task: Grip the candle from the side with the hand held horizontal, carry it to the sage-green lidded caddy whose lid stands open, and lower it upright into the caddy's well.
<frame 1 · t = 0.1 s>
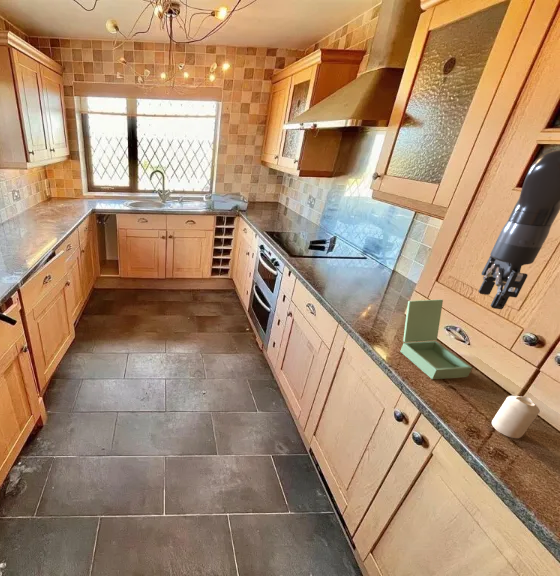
hand: (489, 300, 80), 27 cm above the countertop, tool pointing down, fingers open, 8 cm apart
caddy lid: (418, 319, 103), point 10 cm above the countertop, hinge at 105.0°
candle: (505, 429, 77), on the countertop
caddy: (431, 363, 99), on the countertop
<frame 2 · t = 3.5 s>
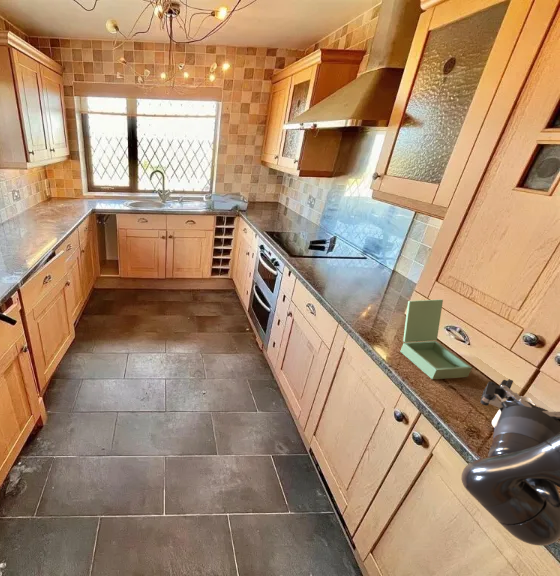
hand: (537, 394, 63), 18 cm above the countertop, tool horizontal, fingers open, 8 cm apart
nothing on the countertop moved.
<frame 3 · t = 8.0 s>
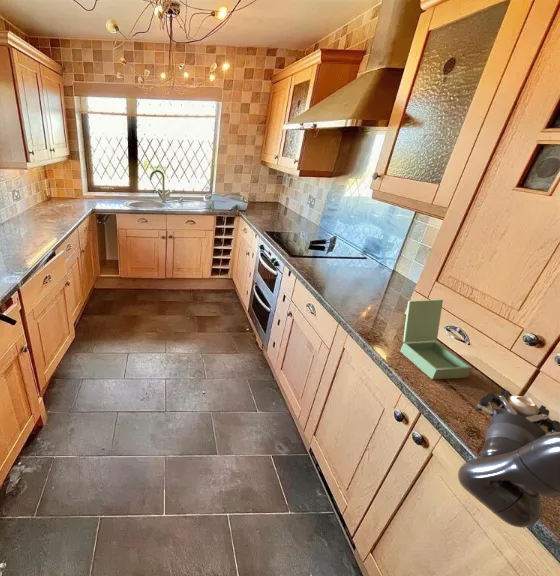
hand: (523, 400, 75), 8 cm above the countertop, tool horizontal, fingers closed on candle, 5 cm apart
candle: (505, 429, 77), on the countertop, touching gripper
everything else where it was.
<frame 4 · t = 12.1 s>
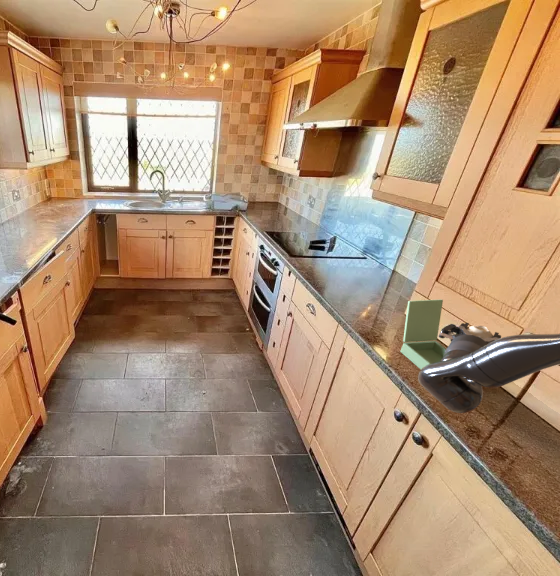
hand: (480, 330, 85), 18 cm above the countertop, tool horizontal, fingers closed on candle, 5 cm apart
candle: (466, 357, 87), point 10 cm above the countertop, touching gripper
everything else where it was.
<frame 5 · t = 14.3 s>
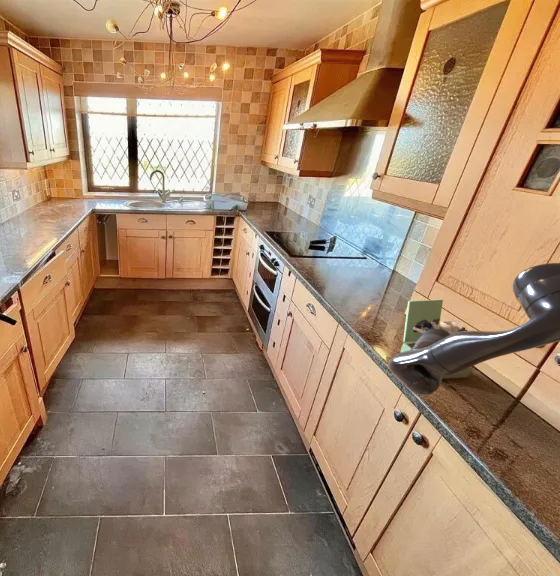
hand: (449, 325, 94), 14 cm above the countertop, tool horizontal, fingers closed on candle, 5 cm apart
candle: (437, 350, 96), point 5 cm above the countertop, touching gripper
everything else where it was.
when the fingers open (9 cm above the countertop, at t = 16.1 s): candle stays where it is, resting on caddy.
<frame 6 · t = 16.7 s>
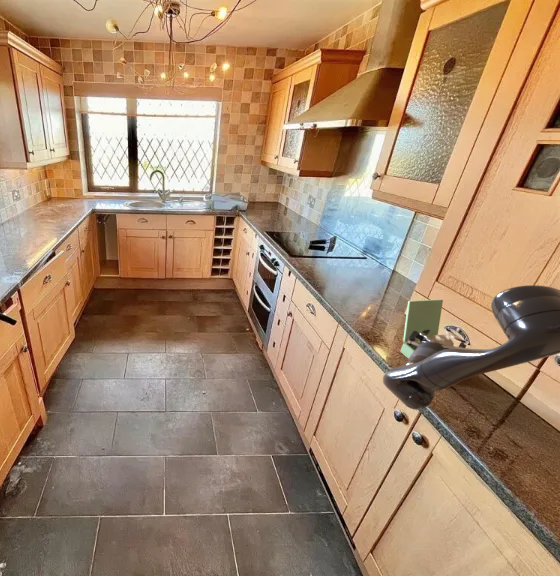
hand: (444, 338, 96), 9 cm above the countertop, tool horizontal, fingers open, 8 cm apart
candle: (432, 362, 99), point 1 cm above the countertop, touching caddy
everything else where it was.
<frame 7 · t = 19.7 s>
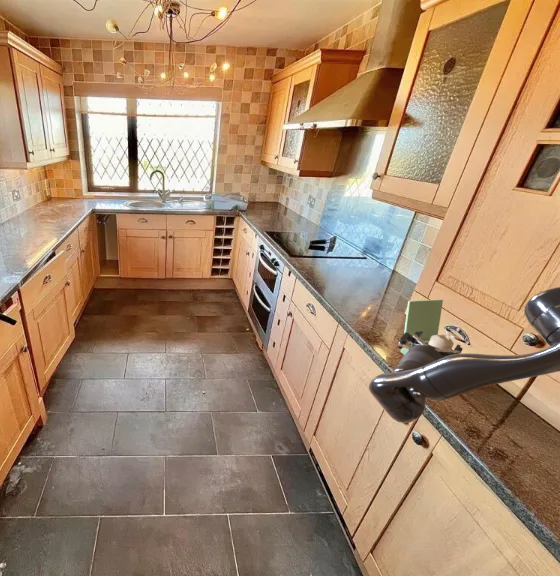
hand: (438, 340, 87), 14 cm above the countertop, tool horizontal, fingers open, 8 cm apart
nothing on the countertop moved.
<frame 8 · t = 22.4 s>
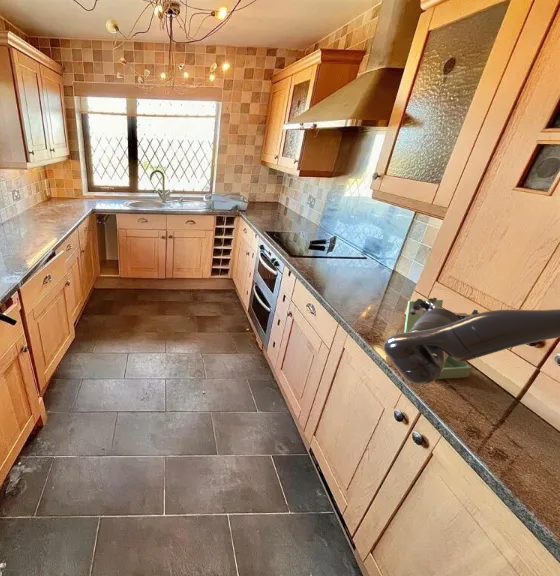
hand: (453, 306, 82), 25 cm above the countertop, tool horizontal, fingers open, 8 cm apart
nothing on the countertop moved.
at the end: candle inside the target area in the caddy (0.2 cm from its centre), point 0.5 cm above the caddy's base; candle tilted 0°; the gripper is holding nothing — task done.
